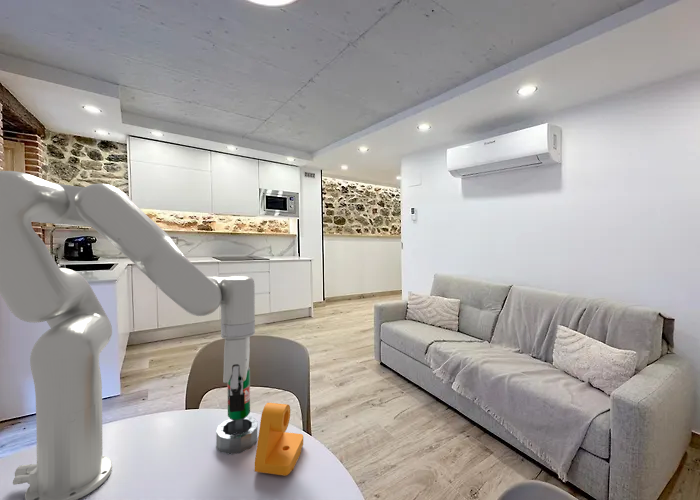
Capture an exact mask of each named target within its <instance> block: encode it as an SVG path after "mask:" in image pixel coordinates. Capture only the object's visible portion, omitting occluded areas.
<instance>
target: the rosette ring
mask: <svg viewBox="0 0 700 500" xmlns="http://www.w3.org/2000/svg"><path fill="white" fill-rule="evenodd" d="M215 434H216V435H215V439H216V445H215V446H216V449H217V450H218V451H219V452H220V453H223V454H227V455H235V454H242V453H244V452H245V451H248V450H250V449H252V448H253V446H255V445H256V443H258V420H257V419H256V418H254V417H252V416H249V415H248V416H247V417H246V418H244V419H241V420H231V419H230V418H228V419H225V420H224V421H223V422H222V423H221V424H219V425H218V426H217V429H216V433H215Z"/></svg>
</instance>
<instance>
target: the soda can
mask: <svg viewBox="0 0 700 500" xmlns="http://www.w3.org/2000/svg"><path fill="white" fill-rule="evenodd" d="M230 380H231V377H230ZM230 380H229V382H227V383H226V384H227V387H226V388H227V417H228V419H231V420H241V419H244V418H246V417H247V416H248V417H249V415H250V413H251V368H250V366H249V367H248V372H247V377H246V380H245V381H244V382H243V393H244V392H245V409H244V410H243V411H237V412H230ZM239 380H241V377H239ZM238 385H239V386H240V387H241V383H238ZM240 389H241V388H240Z"/></svg>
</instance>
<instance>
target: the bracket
mask: <svg viewBox="0 0 700 500" xmlns="http://www.w3.org/2000/svg"><path fill="white" fill-rule="evenodd" d="M290 419H291V406H290V404H287V403H277V402H276V403H274V402H267V403H266V404H265V405H264V407H263V409H262V413H261V417H260V421H259V422H260V424H259V429H258V431H259V432H258V435H257V442H256V443H257V444H256V450H255V457H254V472H256V473H263V474H269V475H270V474H271V475H278V476H288V475H289V474H290V473H291V472H292V471H294V469H295V466H296V465H297V462H298V460H299V458H300V456H301V454H302V449H303V446H304V434H302V433H297V432H289V431H287V429H288V426H289V423H290ZM286 431H287V432H286Z"/></svg>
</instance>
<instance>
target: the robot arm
mask: <svg viewBox="0 0 700 500" xmlns="http://www.w3.org/2000/svg"><path fill="white" fill-rule="evenodd" d="M32 222H35V223H41V224H42V223H43V224H54V225H55V224H57V225H68V226H69V225H70V226H78V227H79V226H80V227H81V226H82V227H91V228H92V229H93V230H95V231H96V232H98V234H100V236H102V237H103V238H104V239H105V240H106V241H108V242H109V243H110V244H112V245H113V246H114V247H115V248H116V249H117V250H118V251H119V252H120V253H122V254H123V255H124V256H125V257H126V258H128V259H129V260H130V261H131V262H132V263H133V264H134V265H135V266H136V267H137V268H138V269H139V271H140V272H142V273H143V274H144V275H145V276H146V277H147V278H148V279H149V280H150V281H151V282H152V283H153V284H154V285H155V286H156V287H157V288H158V289H159V290H160V291H162V293H163V294H165V296H167V297H168V298H169V299H170V300H172V301H173V302H174V303H175V304H176V305H178V306H179V307H180V308H181V309H183V310H184V311H186V313H188V314H190V315H192V316H197V317H206V316H208V315H211V314H214V312H216V311H217V309H218V308H219V307H220V338H222V339H224V350H223V352H224V353H223V383H224V384H227V382H229V380H230V377H231V380H230V412H237V411H243V410H244V409H245V392H244V393H243V382H244V381H245V380H246V377H247V372H248V367H249V368H250V355H251V354H250V353H251V351H250V350H251V349H250V344H251V343H250V341H251V340H250V337H253V336H254V335H255V334H256V333H255V332H256V328H255V327H256V325H255V324H256V322H255V318H256V317H255V315H256V314H255V313H256V309H255V308H256V307H255V303H256V302H255V299H256V298H255V297H256V295H255V279H254V278H252V277H251V276H247V275H231V276H225V277H223V276H220V277H219V276H206V275H205V274H204V273H203V272H202V271H201V270H200V269H199V268H198V267H196V265H195V264H194V263H192V262H191V261H190V260H189V259H188V258H187V257H186V256H185V254H183V252H182V251H181V250H180V249H179V248H178V246H177V245H176V242H175V241H174V240H173V238H172V237H171V236H170V235H169V234H168V233H167V232H166V231H165V230H164V229H162V227H160V226H159V225H158V224H157V223H156V222H155V221H154V220H153V219H151V218H150V217H149V215H147V214H146V213H145V212H144V211H143V210H142V209H141V208H140V207H139V206H137V204H135V203H134V202H133V199H131V197H130V196H129V195H128V194H126V193H125V192H124V191H122V190H120V189H119V188H117V187H115V186H114V185H110V184H106V183H92V184H90V185H87V186H85V187H83V186H76V185H70V184H62V183H55V182H50V181H48V180H46V179H43V178H40V177H38V176H35V175H32V174H29V173H26V172H22V171H21V172H20V171H16V170H2V171H1V170H0V296H1V298H2V300H3V301H4V303H5V304H6V306H7V308H8V309H9V311H10V313H12V315H13V316H14V317H16V318H17V319H19V320H20V321H24V322H26V323H34V324H35V323H37V324H38V323H42V322H46V323H47V325H48V326H49V329H48V330H46V331H45V332H44V333H43V334H42V335H41V336H40V337H39V338H38V339H37V340H36V342H35V344H34V345H33V347H32V349H31V352H30V356H29V357H30V358H29V365H30V371H31V376H32V379H33V384H34V392H35V393H34V394H35V415H36V416H35V417H36V418H35V420H36V421H35V423H36V463H33V464H32V463H31V464H24V465H23V464H22V465H19V466H18V467H17V468H16V469H15V472H14V478H13V480H12V485H13V486H14V485H16V486H17V485H21V484H25V483H27V484H28V485H29V486H28V488H26V491H25V494H24V500H79V499H82V498H83V497H85V496H86V495H89V494H90V493H92V492H93V491H95V490H96V489H97V488H98V487H100V486H101V485H102V484H103V483H105V481H107V479H108V478H109V477H110V474H111V473H112V469H113V461H112V459H110V457H107V456H105V455H103V382H102V373H101V367H100V366H101V365H100V355H101V353H102V351H103V350H104V349H105V348H106V346H107V345H108V344H109V342H110V341H111V338H112V335H113V328H112V324H111V321H110V319H109V316H108V315H107V313H106V312H105V310H104V308H103V306H102V304H101V302H100V301H99V299H98V297H97V296H96V293H95V291H94V290H93V288H92V287H91V286H92V285H90V283H89V282H88V281H87V279H86V278H85V277H84V276H83V275H82V274H80V273H79V272H78V271H76V270H73V269H70V268H66V267H59V265H57V263H56V261H55V260H54V257H53V256H52V254H51V253H50V251H49V249H48V247H47V245H46V243H45V242H44V241H43V239H42V238H41V237H40V236H39V235H38V234H37V232H36V231H35V230H34V228H33V226H32ZM239 377H241V380H239ZM238 383H241V387H240V386H239V385H238ZM240 388H241V389H240Z"/></svg>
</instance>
